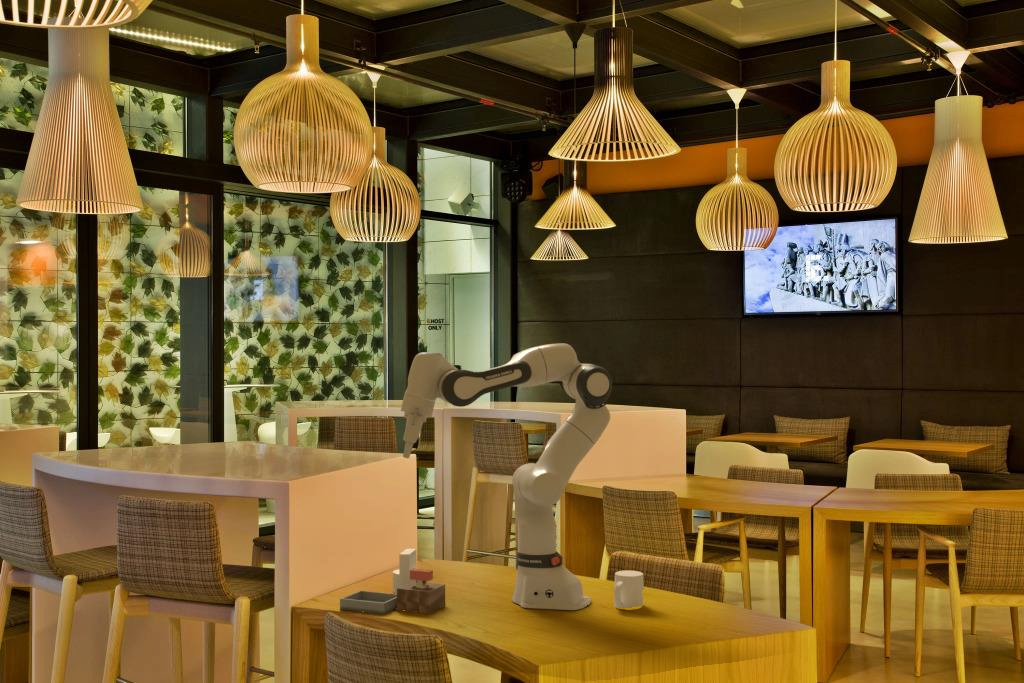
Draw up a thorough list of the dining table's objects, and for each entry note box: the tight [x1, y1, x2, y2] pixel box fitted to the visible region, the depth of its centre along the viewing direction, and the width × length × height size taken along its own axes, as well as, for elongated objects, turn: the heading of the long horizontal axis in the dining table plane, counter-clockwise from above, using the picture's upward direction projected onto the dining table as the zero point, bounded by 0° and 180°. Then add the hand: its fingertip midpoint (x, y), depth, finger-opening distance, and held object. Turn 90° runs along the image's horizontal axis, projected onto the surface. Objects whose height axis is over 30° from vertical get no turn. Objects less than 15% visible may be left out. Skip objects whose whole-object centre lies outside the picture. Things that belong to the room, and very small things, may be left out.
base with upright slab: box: [392, 548, 417, 594], centre depth 315 cm, size 9×9×12 cm
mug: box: [613, 569, 645, 608], centre depth 296 cm, size 12×9×8 cm
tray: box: [339, 590, 397, 615], centre depth 296 cm, size 14×11×3 cm
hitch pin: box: [410, 568, 434, 588], centre depth 295 cm, size 6×3×10 cm, turn 67°
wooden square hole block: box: [396, 581, 446, 614], centre depth 295 cm, size 10×10×6 cm
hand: (406, 456), depth 292 cm, fingers open, 8 cm apart
